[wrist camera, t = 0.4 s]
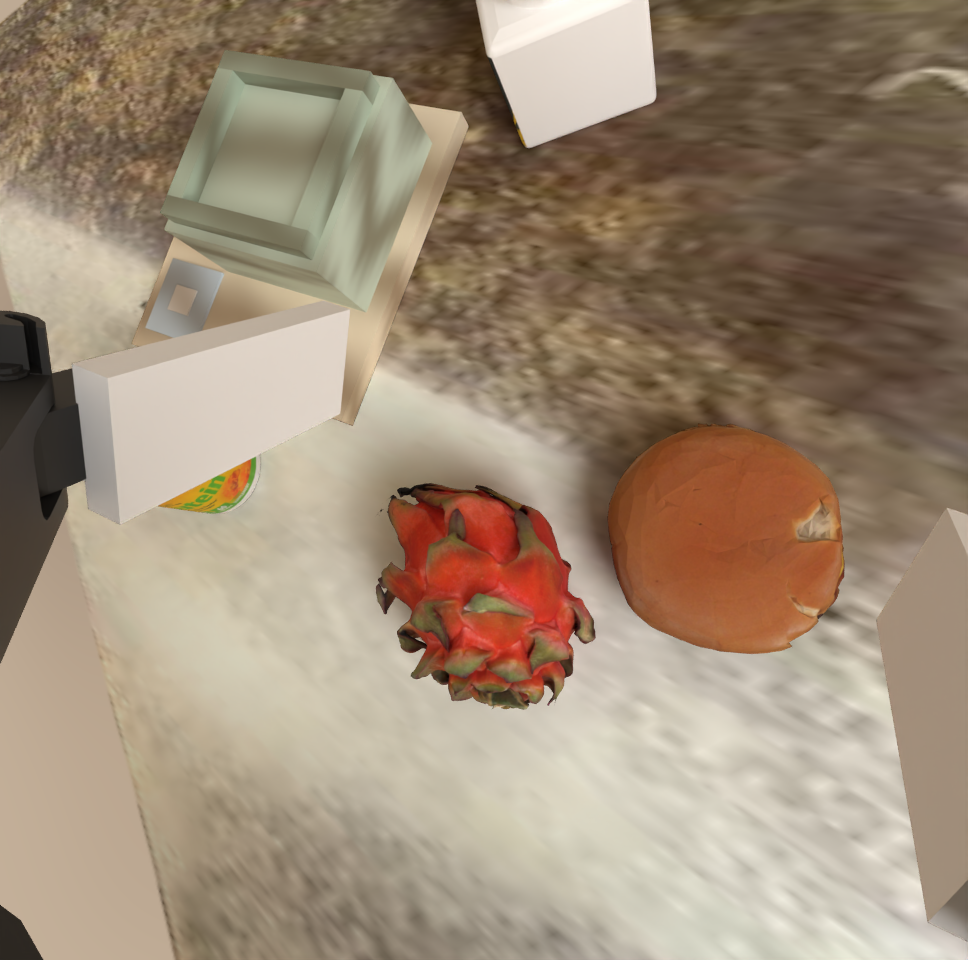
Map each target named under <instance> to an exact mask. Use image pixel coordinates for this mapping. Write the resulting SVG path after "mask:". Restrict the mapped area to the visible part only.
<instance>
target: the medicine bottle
mask: <svg viewBox="0 0 968 960" xmlns="http://www.w3.org/2000/svg"><path fill="white" fill-rule="evenodd" d="M476 4H477V9H478V14H479V19H480V24H481V29H482V34H483V39H484V44H485V49H486V54H487V57H488V59H489V61H490V64H491V66H492V69H493V71H494V74H495V76H496V79H497V81H498V84H499V86H500V89H501V91H502V94H503V96H504V99H505V101H506V104H507V106H508V109H509V111H510V113H511V116H512V118H513V121H514V123H515V126H516V128H517V131H518V133H519V136H520V138H521V141H522V143H523V145H524V146H525V147H526V148H532V147H534V146H537V145H540V144H543V143H545V142H548V141H551V140H553V139H556V138H559V137H562V136H564V135H567V134H570V133H572V132H575V131H578V130H581V129H583V128H586V127H589V126H591V125H594V124H597V123H600V122H602V121H605V120H608V119H610V118H613V117H616V116H619V115H621V114H624V113H627V112H629V111H632V110H635V109H638V108H640V107H643V106H646V105H648V104H651V103H652V102H654V100H655V99H656V83H655V71H654V60H653V48H652V37H651V25H650V14H649V2H648V0H476Z"/></svg>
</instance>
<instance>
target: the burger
mask: <svg viewBox="0 0 968 960" xmlns="http://www.w3.org/2000/svg"><path fill="white" fill-rule="evenodd" d="M608 528H609V536H610V542H611V544H612V555H613V561H614V567H615V570H616V574H617V578H618V581H619V583H620V586H621V588H622V591H623V593H624V595H625V598H626V600H627V603H628V605H629V606H630V607H631V609H632V610H633V611H634V613H636V614H637V615H638V616H639V617H640V618H641V619H642V620H644V621H645V622H646V623H647V624H648V625H650V626H651V627H653V628H655V629H657V630H659V631H661V632H664V633H666V634H669V635H671V636H673V637H675V638H678V639H680V640H683V641H686V642H688V643H690V644H693V645H696V646H699V647H703V648H708V649H713V650H717V651H723V652H735V653H746V654H759V653H769V652H776V651H782V650H785V649H787V648H790V647H792V646H791V645H790V643H789V642H790V641H792V640H794V639H795V638H797V637H799V636H801V635H803V634H804V633H806V632H808V631H809V630H810V629H811V628H813V627H814V626H815V625H816V624H817V623H818V619H819V618H820V617H821V616H822V615H823V613H825V611H826V610H827V609H828V608H829V607H830V606H831V605H832V604H833V603H834V602H835V600H836V599H837V597H838V594H839V589H838V586H839V584H840V582H841V581H842V579H843V578H844V557H843V549H844V548H843V545H842V540H843V535H842V528H841V516H840V509H839V502H838V498H837V495H836V493H835V491H834V489H833V487H832V484H831V482H830V480H829V479H828V477H827V476H826V475H825V474H824V473H823V472H822V471H821V470H820V469H819V468H818V466H817V465H815V464H814V463H813V462H811V461H810V460H808V459H807V458H806V457H804V456H803V455H802V454H800V453H799V452H797V451H796V450H794V449H793V448H791V447H790V446H788V445H787V444H785V443H783V442H781V441H778V440H776V439H774V438H772V437H769V436H767V435H764V434H761V433H758V432H755V431H753V430H749V429H746V428H740V427H738V426H736V425H732V424H727V425H726V427H725V426H722V425H718V426H717V425H716V424H711V425H710V426H708V425H707V424H705V425H703V424H698V427H693V428H689V429H685V430H682V431H680V432H678V433H676V434H674V435H671V436H669V437H667V438H665V439H663V440H661V441H659V442H657V443H656V444H654V445H653V446H651V447H650V448H648V449H647V450H646V451H645V452H643V453H642V454H641V455H640V456H638V457H636V460H635V461H634V462H633V463H632V464H631V465H630V466H629V468H628V469H627V470H626V471H625V472H624V474H623V476H622V477H621V479H620V480H619V482H618V484H617V486H616V488H615V491H614V493H613V496H612V498H611V501H610V503H609V511H608Z"/></svg>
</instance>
